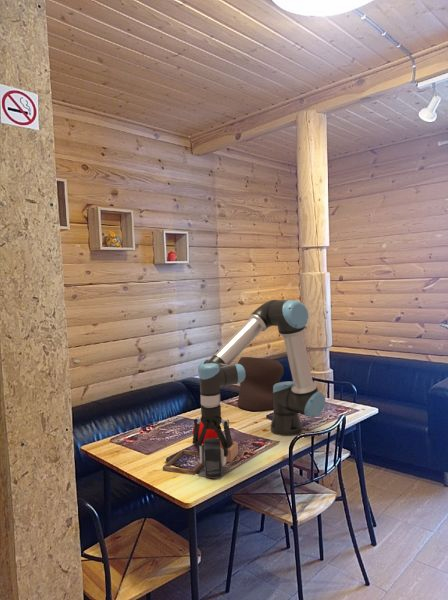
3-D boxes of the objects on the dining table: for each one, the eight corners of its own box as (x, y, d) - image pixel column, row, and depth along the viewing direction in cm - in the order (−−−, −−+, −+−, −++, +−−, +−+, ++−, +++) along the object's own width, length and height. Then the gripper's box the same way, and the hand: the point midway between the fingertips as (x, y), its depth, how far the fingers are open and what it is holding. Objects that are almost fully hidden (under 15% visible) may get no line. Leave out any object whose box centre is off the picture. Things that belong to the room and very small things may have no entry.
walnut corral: (211, 456, 185) (211, 453, 185) (194, 474, 168) (194, 471, 168) (182, 453, 189) (182, 449, 189) (162, 470, 173) (162, 466, 173)
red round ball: (216, 456, 192) (206, 446, 204) (230, 430, 194) (219, 421, 206) (192, 445, 188) (183, 435, 200) (206, 417, 190) (197, 410, 202)
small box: (205, 464, 175) (203, 438, 174) (221, 463, 175) (220, 437, 174) (204, 476, 164) (203, 448, 163) (222, 475, 164) (221, 447, 164)
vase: (287, 411, 241) (285, 356, 240) (238, 412, 242) (236, 358, 240) (281, 397, 268) (280, 348, 266) (237, 399, 268) (235, 350, 267)
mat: (228, 468, 172) (228, 467, 172) (220, 479, 164) (220, 478, 164) (207, 466, 175) (207, 465, 175) (197, 476, 167) (197, 475, 167)
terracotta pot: (238, 453, 187) (237, 442, 186) (231, 462, 178) (230, 450, 178) (218, 451, 190) (217, 440, 189) (210, 459, 181) (210, 447, 181)
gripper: (240, 403, 168) (242, 462, 169) (189, 400, 175) (192, 456, 177) (233, 409, 161) (236, 470, 162) (181, 405, 168) (184, 463, 170)
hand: (213, 462), depth 169 cm, fingers open, 8 cm apart
